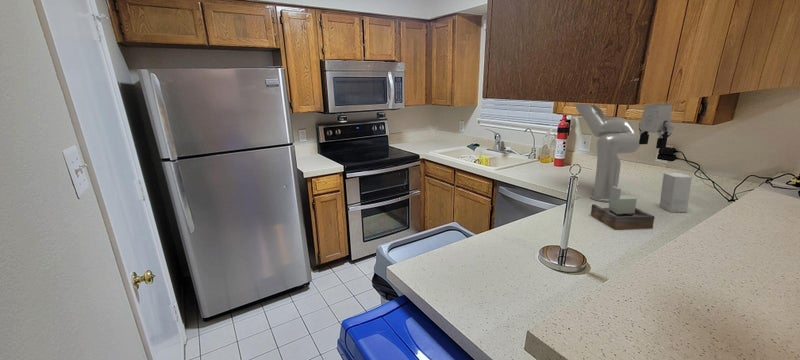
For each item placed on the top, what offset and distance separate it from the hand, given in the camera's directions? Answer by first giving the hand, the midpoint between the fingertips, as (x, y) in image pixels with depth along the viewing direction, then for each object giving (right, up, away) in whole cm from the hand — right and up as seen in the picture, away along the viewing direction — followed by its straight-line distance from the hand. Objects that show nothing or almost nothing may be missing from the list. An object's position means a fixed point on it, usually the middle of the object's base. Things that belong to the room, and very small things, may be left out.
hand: (651, 146), depth 127 cm
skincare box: (+18, -26, +12) cm, 34 cm away
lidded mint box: (-12, -27, 0) cm, 30 cm away
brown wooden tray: (-12, -30, +1) cm, 32 cm away
